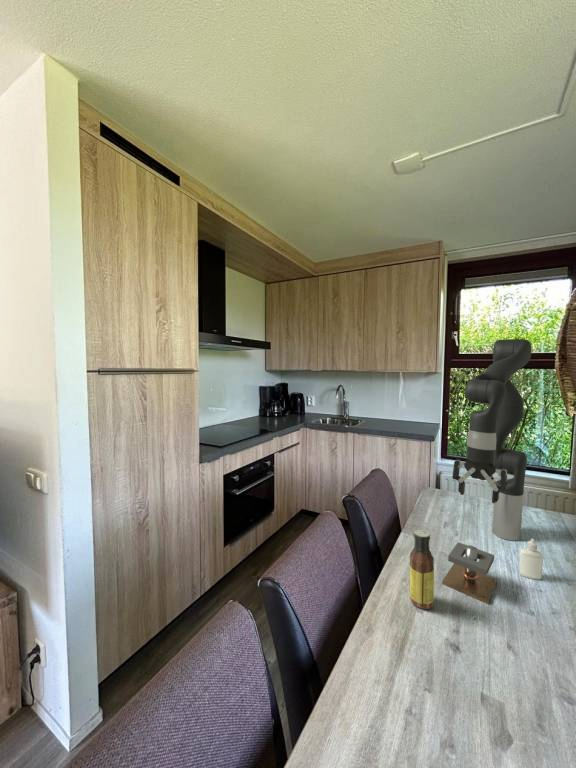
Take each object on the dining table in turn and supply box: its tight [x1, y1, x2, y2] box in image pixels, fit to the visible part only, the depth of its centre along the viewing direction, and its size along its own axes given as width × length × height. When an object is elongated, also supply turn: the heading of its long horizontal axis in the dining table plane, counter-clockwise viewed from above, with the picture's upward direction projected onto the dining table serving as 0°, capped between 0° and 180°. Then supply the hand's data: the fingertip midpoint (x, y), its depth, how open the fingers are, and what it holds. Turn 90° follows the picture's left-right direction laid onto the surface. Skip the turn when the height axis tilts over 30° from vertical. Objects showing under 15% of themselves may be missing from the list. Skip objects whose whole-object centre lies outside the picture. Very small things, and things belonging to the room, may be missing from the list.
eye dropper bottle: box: [518, 537, 544, 581], centre depth 102 cm, size 4×6×12 cm
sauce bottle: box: [409, 529, 435, 610], centre depth 90 cm, size 7×6×20 cm
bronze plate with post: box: [441, 544, 498, 605], centre depth 98 cm, size 12×12×11 cm
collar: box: [447, 542, 495, 576], centre depth 98 cm, size 10×10×2 cm
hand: (477, 498), depth 100 cm, fingers open, 8 cm apart
